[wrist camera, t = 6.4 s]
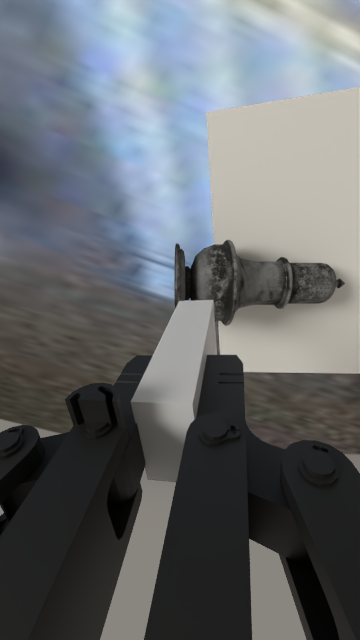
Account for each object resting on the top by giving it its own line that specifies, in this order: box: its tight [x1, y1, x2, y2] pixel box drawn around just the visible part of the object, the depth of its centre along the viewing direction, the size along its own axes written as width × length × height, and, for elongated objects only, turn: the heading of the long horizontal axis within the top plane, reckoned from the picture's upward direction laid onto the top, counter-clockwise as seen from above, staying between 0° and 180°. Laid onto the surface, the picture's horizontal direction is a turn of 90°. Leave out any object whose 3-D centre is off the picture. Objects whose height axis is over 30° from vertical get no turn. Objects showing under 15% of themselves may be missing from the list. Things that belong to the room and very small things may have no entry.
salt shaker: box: [175, 240, 345, 326], centre depth 20 cm, size 6×6×12 cm
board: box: [206, 87, 360, 374], centre depth 22 cm, size 14×20×1 cm
